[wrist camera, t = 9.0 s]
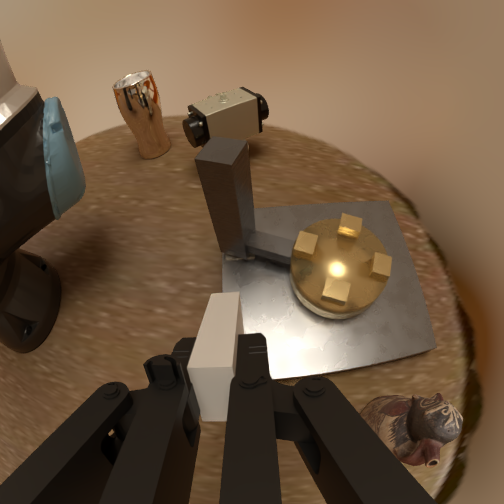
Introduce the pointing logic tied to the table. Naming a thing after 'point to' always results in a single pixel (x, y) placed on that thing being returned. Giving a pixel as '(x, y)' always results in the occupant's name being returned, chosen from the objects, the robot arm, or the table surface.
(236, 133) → the pneumatic valve
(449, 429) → the figurine
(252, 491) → the robot arm
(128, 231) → the table surface
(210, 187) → the metal fixture
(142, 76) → the beer glass
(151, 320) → the table surface
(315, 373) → the base plate
